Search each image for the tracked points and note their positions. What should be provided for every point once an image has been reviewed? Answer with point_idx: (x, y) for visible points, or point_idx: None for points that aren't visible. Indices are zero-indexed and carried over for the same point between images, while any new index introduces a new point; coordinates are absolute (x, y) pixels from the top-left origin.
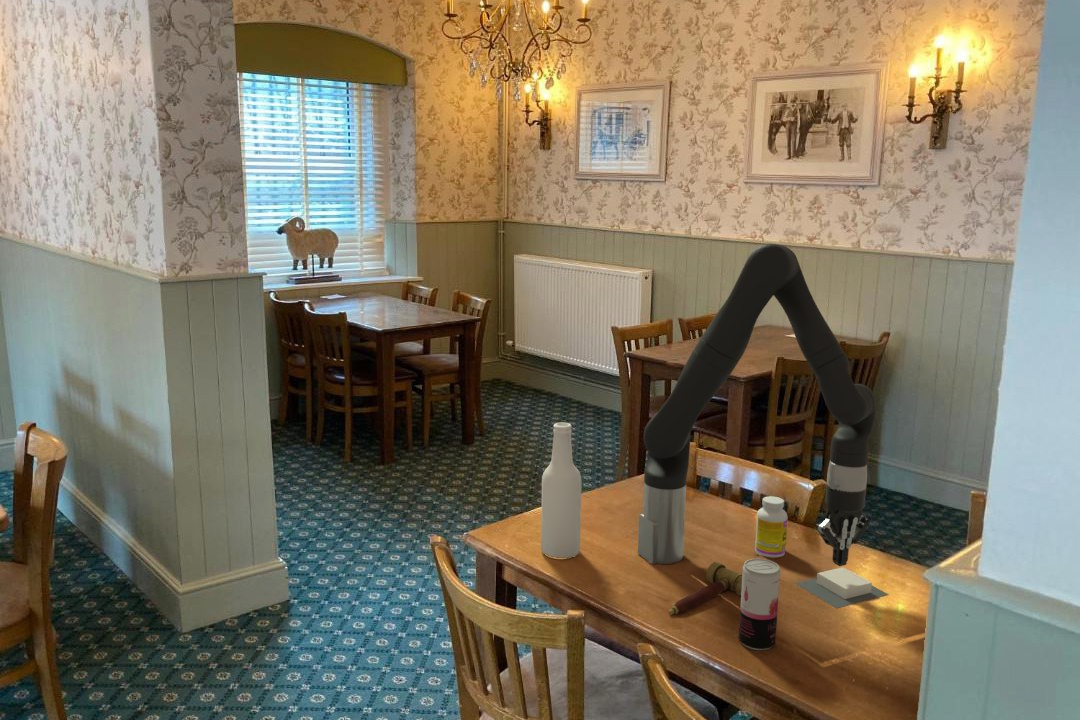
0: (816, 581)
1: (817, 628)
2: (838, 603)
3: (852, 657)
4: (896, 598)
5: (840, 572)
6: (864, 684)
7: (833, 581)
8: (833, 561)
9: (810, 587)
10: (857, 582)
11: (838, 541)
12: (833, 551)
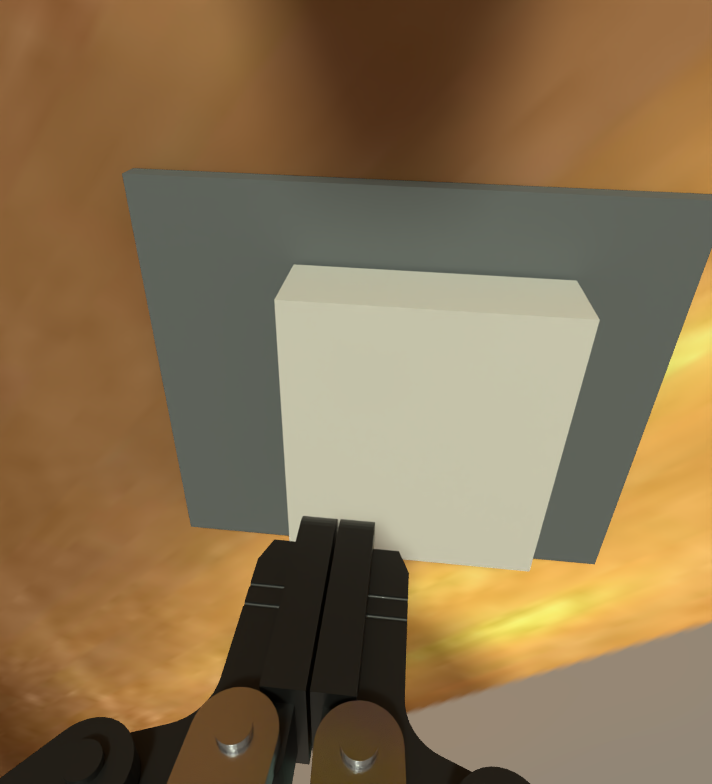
0: (316, 237)
1: (15, 560)
2: (237, 503)
3: (48, 696)
4: (616, 571)
5: (475, 381)
6: (9, 754)
7: (292, 454)
8: (274, 546)
9: (201, 292)
10: (443, 531)
11: (314, 755)
12: (232, 647)
